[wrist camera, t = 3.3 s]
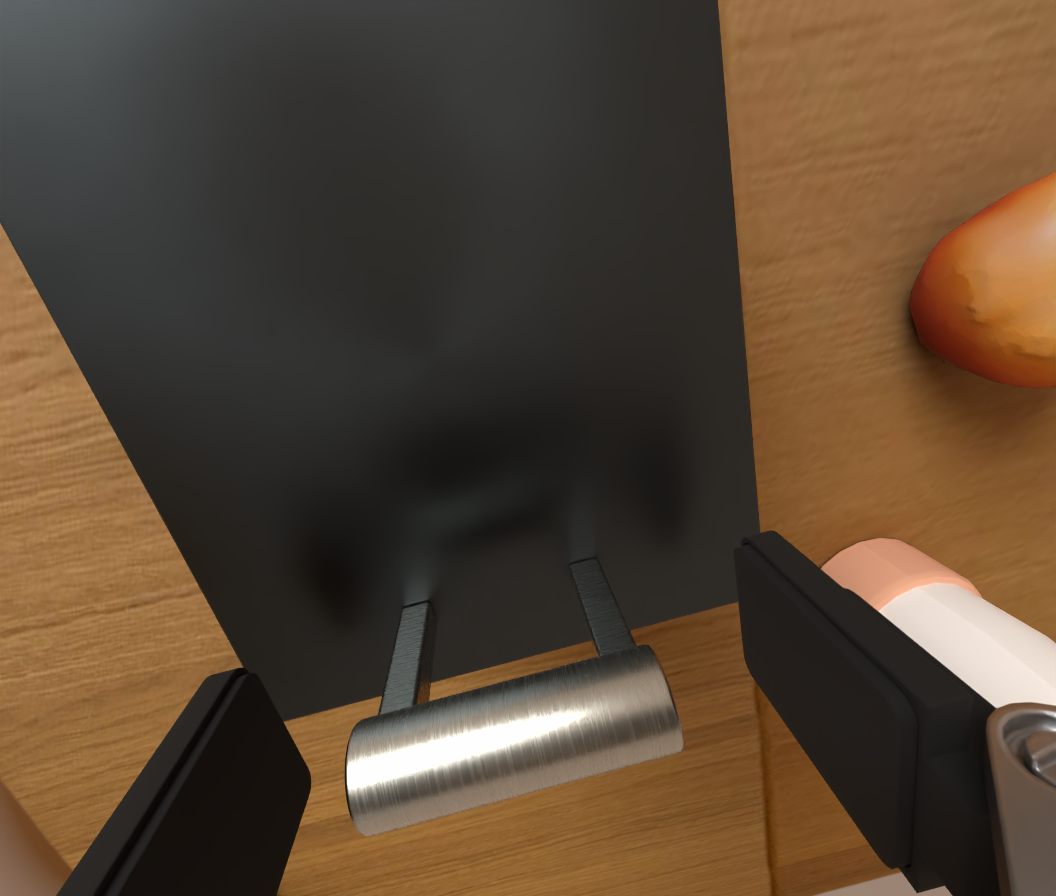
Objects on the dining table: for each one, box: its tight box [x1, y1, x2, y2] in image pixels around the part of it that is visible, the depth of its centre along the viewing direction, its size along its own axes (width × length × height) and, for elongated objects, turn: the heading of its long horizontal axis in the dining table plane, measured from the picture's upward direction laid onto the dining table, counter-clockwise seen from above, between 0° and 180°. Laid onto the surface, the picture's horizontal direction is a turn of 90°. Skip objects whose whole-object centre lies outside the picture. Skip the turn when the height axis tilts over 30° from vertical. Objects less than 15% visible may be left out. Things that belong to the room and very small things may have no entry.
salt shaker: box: [821, 538, 1056, 708], centre depth 19 cm, size 7×7×19 cm
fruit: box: [910, 172, 1056, 388], centre depth 20 cm, size 8×8×8 cm
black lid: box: [0, 0, 760, 836], centre depth 8 cm, size 15×13×5 cm
